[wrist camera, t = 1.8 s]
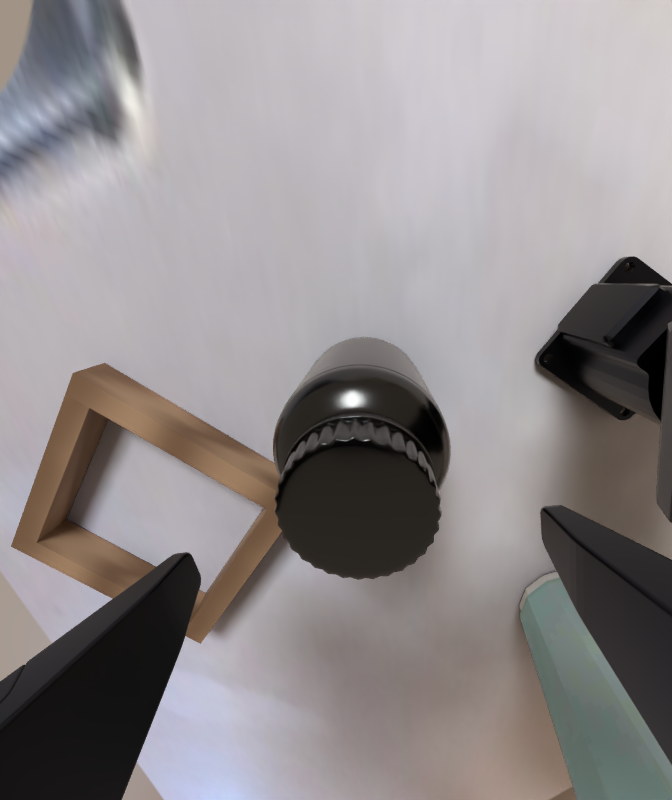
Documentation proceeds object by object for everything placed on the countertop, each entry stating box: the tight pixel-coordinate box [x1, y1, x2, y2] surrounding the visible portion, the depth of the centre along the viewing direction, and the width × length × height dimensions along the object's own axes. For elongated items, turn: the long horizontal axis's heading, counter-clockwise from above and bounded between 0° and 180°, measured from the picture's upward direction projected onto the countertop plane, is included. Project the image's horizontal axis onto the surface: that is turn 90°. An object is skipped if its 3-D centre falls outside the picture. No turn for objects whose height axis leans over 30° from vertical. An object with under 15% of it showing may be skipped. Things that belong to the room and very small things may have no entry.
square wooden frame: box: [11, 363, 282, 644], centre depth 24 cm, size 15×15×2 cm
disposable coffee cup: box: [519, 572, 672, 800], centre depth 18 cm, size 11×11×15 cm
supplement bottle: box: [273, 337, 451, 579], centre depth 15 cm, size 7×7×12 cm
